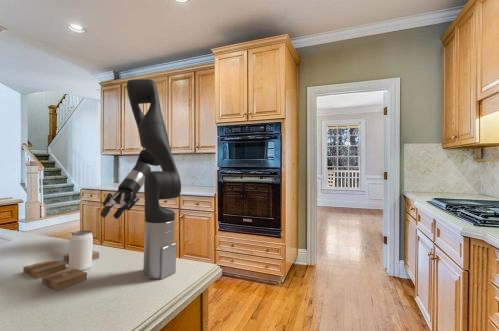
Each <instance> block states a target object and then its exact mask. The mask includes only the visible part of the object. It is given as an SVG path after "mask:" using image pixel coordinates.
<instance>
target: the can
mask: <svg viewBox="0 0 499 331" xmlns="http://www.w3.org/2000/svg"><path fill="white" fill-rule="evenodd" d="M93 240H94V239H93V234H92V231H91V230H78V231H77V230H76V231H73V232H71V235H70V238H69V248H68V251H69V252H68V254H69V262H68V269H69V268H74V269H77V270H80V271H83V272H85V271H87V270H89V269H91V267H92V266H93V260H92V251H93V248H94V247H93V244H94V242H93Z"/></svg>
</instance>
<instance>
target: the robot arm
mask: <svg viewBox="0 0 499 331" xmlns="http://www.w3.org/2000/svg"><path fill="white" fill-rule="evenodd" d="M157 86H158V85H157V84H156V82H155V81H154V80H153V79H149V78H144V79H143V78H141V79H139V78H138V79H128V80H127V81H126V90H127V96H128V100H129V104H130V107H131V110H132V114H133V117H134V120H135V123H136V127H137V130H138V137H139V141H140V142H139V143H140V145H141V147H142V148H143V149H142V150H140V151H139V155H138V157H137V160H136V163H135V165H134V167H133V168H132V169H131V170H130V172H129V173H128V174H127V175H126V176H125V177H124V179H123V180H122V181H121V183H119V186H118V187H117V191H116V192H115V193H113V194H112V193H111V192H109V193H107V195H106V196H105V199H104V200H103V202H102V206H103V207H104V208H103V209H102V211H101V212H100V216H101V217H102V218H107V216H108V214H109V213H110V211H111V210H112V209H113V208H115V207H117V206H118V205H119V207H117V209H116V211H115V212H114V213H113V217H114V219H115V220H117V219H119V218H120V217H121V216H122V215H123V213H124V212H125V211H130V210H131V209H132V208H133V207H134V206H135V205H136V203H137V202H138V201H139V197H138V196H137V195H138V193H139V191H140V190H141V188H142V187H143V186H144V188H143V192H144V194H143V195H144V197H143V198H144V235H143V236H144V238H143V239H144V241H143V242H144V243H143V271H142V272H143V273H142V274H143V276H144V278H147V279H160V280H163V279H165V278H166V277H169V276H171V275H172V274H175V273H176V271H177V270H176V267H177V243H176V242H175V227H176V226H175V224H176V221H175V220H176V218H175V217H176V212H175V210H173V209H170V208H165V207H163V206H161V205H160V200H171V199H172V200H173V199H177V198H179V197H180V195H181V193H182V182H181V177H180V173H179V171H178V167H177V165H176V163H175V159H174V157H173V153H172V149H171V146H170V141H169V136H168V132H167V129H166V128H167V127H166V124H165V121H164V117H163V113H162V108H161V104H160V98H159V91H158V87H157ZM140 104H142V105H143V104H150V105H149V108H148V110H147V111H146V113H145V114H144V113H143V112H142V110H141V108H140ZM150 166H155V167H159V166H160V168H161V170H159V171H158V170H152V168H151V167H150Z"/></svg>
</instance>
